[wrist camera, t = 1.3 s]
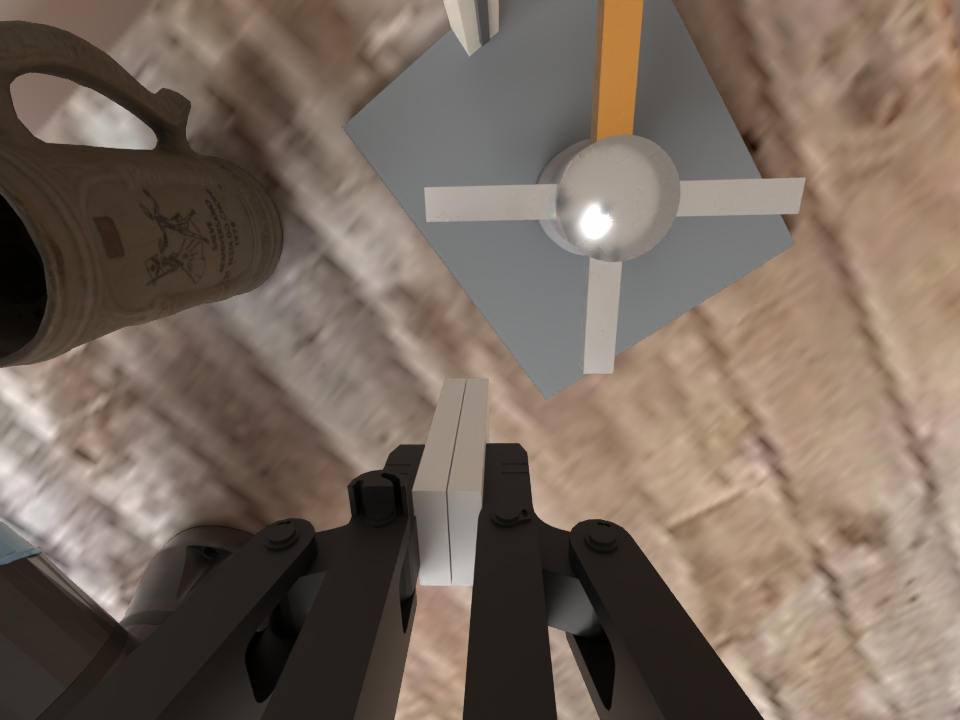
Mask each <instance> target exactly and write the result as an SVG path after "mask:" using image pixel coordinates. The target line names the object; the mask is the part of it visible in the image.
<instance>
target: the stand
mask: <svg viewBox="0 0 960 720" xmlns="http://www.w3.org/2000/svg"><path fill="white" fill-rule="evenodd" d="M443 1H444V5H445V8H446V12H447V15H448V18H449V22H450V25H451V29H450V30H449V31H448V32H447V33H446V34H445V35H443V36H442V37H441V38H440V39H439V40H438V41H437V42H436V43H435V44H433V45H432V46H431V47H430V48H429V49H428V50H427V51H426V52H425V53H424V54H422V55H421V56H420V57H419V58H418V59H417V60H416V61H415V62H414V63H412V64H411V65H410V66H409V67H408V68H407V69H406V70H405V71H404V72H402V73H401V74H400V75H399V76H398V77H397V78H396V79H395V80H394V81H393V82H391V83H390V84H389V85H388V86H387V87H386V88H385V89H384V90H383V91H381V92H380V93H379V94H378V95H377V96H376V97H375V98H374V99H373V100H371V101H370V102H369V103H368V104H367V105H366V106H365V107H364V108H363V109H362V110H360V111H359V112H358V113H357V114H356V115H355V116H354V117H353V118H352V119H350V120H349V121H348V122H347V123H346V124H345V125H344V126H343V127H342V128H343V129H344V131H345V132H346V133H347V135H348V136H349V137H350V139H351V140H352V141H353V143H354V144H355V145H356V147H357V148H358V149H359V151H360V152H361V153H362V155H363V156H364V157H365V159H366V160H367V161H368V163H369V164H370V165H371V167H372V168H373V169H374V171H375V172H376V173H377V175H378V176H379V177H380V179H381V180H382V181H383V183H384V184H385V185H386V187H387V188H388V189H389V191H390V192H391V193H392V195H393V196H394V197H395V199H396V200H397V201H398V203H399V204H400V205H401V207H402V208H403V209H404V211H405V212H406V213H407V215H408V216H409V217H410V219H411V220H412V221H413V223H414V224H415V225H416V227H417V228H418V229H419V231H420V232H421V233H422V235H423V236H424V238H425V239H426V240H427V242H428V243H429V244H430V246H431V247H432V248H433V250H434V251H435V252H436V254H437V255H438V256H439V258H440V259H441V260H442V262H443V263H444V264H445V266H446V267H447V268H448V270H449V271H450V272H451V274H452V275H453V276H454V278H455V279H456V280H457V282H458V283H459V284H460V286H461V287H462V288H463V290H464V291H465V292H466V294H467V295H468V296H469V298H470V299H471V300H472V302H473V303H474V304H475V306H476V307H477V308H478V310H479V311H480V312H481V314H482V315H483V316H484V318H485V319H486V320H487V322H488V323H489V324H490V326H491V327H492V328H493V330H494V331H495V332H496V334H497V335H498V336H499V338H500V339H501V340H502V342H503V343H504V344H505V346H506V347H507V349H508V350H509V351H510V353H511V354H512V355H513V357H514V358H515V359H516V361H517V362H518V363H519V365H520V366H521V367H522V369H523V370H524V371H525V373H526V374H527V375H528V377H529V378H530V379H531V381H532V382H533V383H534V385H535V386H536V387H537V389H538V390H539V391H540V393H541V394H542V395H543V397H544V398H545V399H546V400H547V399H548V398H550V397H552V396H553V395H555V394H556V393H558V392H560V391H561V390H563V389H564V388H566V387H568V386H569V385H571V384H572V383H574V382H575V381H577V380H579V379H580V378H582V377H583V376H585V375H587V374H583V372H582V370H581V368H580V365H579V346H580V328H581V309H582V290H583V271H584V253H582V252H581V251H579V250H578V249H577V248H575V247H574V246H572V245H571V244H570V243H568V242H567V241H565V240H564V239H563V238H562V237H561V236H560V235H559V234H558V233H557V232H556V230H555V229H554V227H553V226H552V223H551V221H550V219H543V220H497V221H452V222H426V208H425V192H424V187H458V186H497V185H536V184H550V182H551V180H552V178H553V175H554V174H555V172H556V171H557V169H558V168H559V167H560V165H561V164H562V163H563V162H564V161H565V160H566V159H567V158H569V157H570V156H571V155H573V154H575V153H576V152H578V151H580V150H582V149H584V148H586V147H588V146H590V140H591V121H592V102H593V84H594V65H595V46H596V27H597V9H598V0H443ZM633 135H636V136H641V137H643V138H646V139H649V140H651V141H652V142H654V143H656V144H657V145H659V146H660V147H661V148H662V149H663V150H664V151H665V152H666V153H667V154H668V155H669V157H670V158H671V159H672V161H673V163H674V165H675V167H676V170H677V173H678V176H679V181H693V180H732V179H762V177H761V175H760V173H759V171H758V169H757V167H756V165H755V163H754V161H753V159H752V157H751V155H750V153H749V151H748V149H747V147H746V145H745V143H744V141H743V139H742V137H741V135H740V133H739V131H738V129H737V127H736V125H735V123H734V121H733V119H732V117H731V115H730V113H729V111H728V109H727V107H726V105H725V103H724V101H723V99H722V98H721V96H720V94H719V92H718V90H717V88H716V86H715V84H714V82H713V80H712V78H711V76H710V74H709V72H708V70H707V68H706V66H705V64H704V62H703V60H702V58H701V56H700V54H699V52H698V50H697V48H696V46H695V44H694V42H693V40H692V38H691V36H690V34H689V32H688V30H687V28H686V26H685V24H684V22H683V20H682V18H681V16H680V14H679V12H678V10H677V8H676V6H675V4H674V2H673V0H643V12H642V24H641V36H640V48H639V61H638V73H637V85H636V98H635V110H634V122H633ZM794 244H795V242H794V240H793V238H792V236H791V234H790V232H789V230H788V228H787V226H786V224H785V222H784V220H783V218H782V216H781V215H780V214H769V215H724V216H679V217H676V218H675V220H674V222H673V224H672V226H671V228H670V229H669V231H668V232H667V234H666V235H665V236H664V238H663V239H662V240H661V241H660V242H659V243H658V244H657V245H656V246H654V247H653V248H652V249H651V250H649V251H648V252H646V253H644V254H643V255H640V256H638V257H636V258H633V259H630V260H626V261H622V270H621V282H620V295H619V307H618V319H617V332H616V344H615V356H617V355H619V354H620V353H622V352H623V351H625V350H627V349H628V348H630V347H631V346H633V345H635V344H636V343H638V342H639V341H641V340H642V339H644V338H646V337H647V336H649V335H650V334H652V333H654V332H655V331H657V330H658V329H660V328H662V327H663V326H665V325H666V324H668V323H670V322H671V321H673V320H674V319H676V318H678V317H679V316H681V315H682V314H684V313H686V312H687V311H689V310H690V309H692V308H694V307H695V306H697V305H698V304H700V303H702V302H703V301H705V300H706V299H708V298H709V297H711V296H713V295H714V294H716V293H717V292H719V291H721V290H722V289H724V288H725V287H727V286H729V285H730V284H732V283H733V282H735V281H737V280H738V279H740V278H741V277H743V276H745V275H746V274H748V273H749V272H751V271H753V270H754V269H756V268H757V267H759V266H761V265H762V264H764V263H765V262H767V261H769V260H770V259H772V258H773V257H775V256H776V255H778V254H780V253H781V252H783V251H784V250H786V249H788V248H789V247H791V246H792V245H794ZM615 356H614V357H615Z"/></svg>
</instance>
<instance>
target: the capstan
mask: <svg viewBox="0 0 960 720" xmlns="http://www.w3.org/2000/svg"><path fill="white" fill-rule="evenodd" d="M642 12H643V0H598V9H597V27H596V46H595V65H594V84H593V102H592V121H591V140H590V146H588V147H586V148H584V149H582V150H580V151H578V152H576V153H575V154H573V155H571V156H570V157H569V158H567V159H566V160H565V161H564V162H563V163H562V164H561V165H560V167H559V168H558V169H557V171H556V172H555V174H554V175H553V178H552V180H551V182H550V184H536V185H497V186H458V187H424V192H425V208H426V222H452V221H497V220H543V219H550V221H551V223H552V226H553V227H554V229H555V230H556V232H557V233H558V234H559V235H560V236H561V237H562V238H563V239H564V240H565V241H567V242H568V243H570V244H571V245H572V246H574V247H575V248H577V249H578V250H579V251H581V252H582V253H584V271H583V290H582V309H581V328H580V346H579V365H580V368H581V370H582V372H583V374H606V373H613V368H614V356H615V344H616V332H617V319H618V307H619V295H620V282H621V270H622V261H626V260H630V259H633V258H636V257H638V256H640V255H643V254H644V253H646V252H648V251H649V250H651V249H652V248H653V247H654V246H656V245H657V244H658V243H659V242H660V241H661V240H662V239H663V238H664V236H665V235H666V234H667V232H668V231H669V229H670V228H671V226H672V224H673V222H674V220H675V218H676V217H679V216H724V215H769V214H798V213H799V208H800V203H801V199H802V194H803V189H804V184H805V179H806V178H772V179H732V180H693V181H679V176H678V173H677V170H676V167H675V165H674V163H673V161H672V159H671V158H670V157H669V155H668V154H667V153H666V152H665V151H664V150H663V149H662V148H661V147H660V146H659V145H657V144H656V143H654V142H652V141H651V140H649V139H646V138H643V137H641V136H636V135H633V122H634V110H635V98H636V85H637V73H638V61H639V48H640V36H641V24H642Z"/></svg>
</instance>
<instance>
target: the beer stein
mask: <svg viewBox="0 0 960 720" xmlns="http://www.w3.org/2000/svg"><path fill="white" fill-rule="evenodd" d="M29 72H31V73H43V74H48V75H53V76H57V77H61V78H65V79H69V80H71V81H74V82H75V83H77V84H79V85H82V86H85V87H88V88H91V89H93V90H95V91H97V92H99V93H100V94H102V95H104V96H106V97H107V98H109V99H111V100H112V101H114V102H116V103H117V104H119V105H120V106H122V107H123V108H125V109H127V110H128V111H130V112H131V113H132V114H134V115H135V116H137V117H138V118H139V119H140V120H142V121H143V122H144V123H145V124H147V125H148V126H149V127H150V128H151V129H152V130H153V131H154V133H155V134H156V137H157V140H158V141H157V144H156V148H155V149H153V150H132V149H116V148H105V147H94V146H86V145H70V144H55V143H45V142H44V141H42V140H40V139H38V138H36V137H34V136H33V135H32V133H31V132H30V131H29V130H28V129H27V128H26V127H25V126H24V124H22V122H21V121H20V120H19V119H18V117H17V115H16V112H15V109H14V106H13V102H12V98H11V94H10V84H11V83H12V82H13V81H14V79H15V78H16V77H18V76H20V75H22V74H25V73H29ZM190 109H191V103H190V101H189V100H187V99H186V98H185V97H183V96H182V95H180V94H179V93H177V92H175V91H172V90H170V89H166V88H162V89H161V90H159V91H158V92H157V93H155V94H153V93H151V92H150V91H148V90H147V89H146V88H145V87H143V86H142V85H141V84H140V83H139V82H138V81H137V80H135V79H134V78H133V77H132V76H131V75H130V74H129V73H128V72H127V71H126V70H125V69H124V68H123V67H121V66H120V65H119V64H118V63H117V62H116V61H115V60H114V59H112V58H111V57H110V56H109V55H108V54H106V53H105V52H103V51H101V50H100V49H98V48H97V47H95V46H93V45H92V44H90V43H89V42H87V41H86V40H84V39H82V38H80V37H78V36H76V35H74V34H72V33H70V32H68V31H65V30H62V29H59V28H56V27H52V26H49V25H44V24H37V23H31V22H25V21H0V368H3V367H10V366H17V365H30V364H34V363H38V362H43V361H47V360H50V359H52V358H55V357H57V356H59V355H61V354H64V353H66V352H68V351H70V350H71V349H72V348H75V347H77V346H80V345H82V344H84V343H87V342H89V341H92V340H94V339H96V338H99V337H101V336H104V335H106V334H109V333H111V332H113V331H116V330H118V329H121V328H123V327H126V326H133V325H140V324H145V323H147V322H150V321H153V320H156V319H159V318H163V317H166V316H170V315H173V314H176V313H178V312H180V311H182V310H185V309H188V308H191V307H194V306H197V305H201V304H204V303H212V302H217V301H222V300H225V299H228V298H230V297H232V296H236V295H240V294H243V293H247V292H250V291H252V290H254V289H256V288H257V287H259V286H260V285H261V284H262V283H263V282H264V281H265V280H266V279H267V278H268V277H269V276H270V275H271V274H272V273H273V271H274V269H275V267H276V265H277V263H278V261H279V257H280V253H281V245H282V230H281V226H280V221H279V217H278V213H277V211H276V208H275V206H274V204H273V202H272V200H271V199H270V197H269V196H268V194H267V193H266V191H265V190H264V188H263V187H262V186H261V184H260V183H259V182H258V181H257V180H255V179H254V178H253V177H252V176H251V175H250V174H249V173H247V172H246V171H244V170H243V169H241V168H239V167H238V166H236V165H234V164H233V163H230V162H227V161H224V160H222V159H218V158H213V157H209V156H199V155H197V154H196V153H195V152H194V151H193V150H192V149H191V148H190V146H189V144H188V141H187V139H186V125H187V120H188V116H189V112H190Z"/></svg>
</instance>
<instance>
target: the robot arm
mask: <svg viewBox="0 0 960 720" xmlns="http://www.w3.org/2000/svg"><path fill="white" fill-rule="evenodd" d="M348 493H349V500H350V507H351V514H352V517H351V520H350V522H349V524H347V525H344V526H342V527H338V528H335V529H330V530H326V531H321V532H317V533H315V530H314V527H313V526H312V524H311V523H310V522H309V521H306V520H303V519H294V518H290V519H285V520H281V521H277V522H275V523H273V524H271V525H268V526H266V527H265V528H264V529H262V530H261V531H260V532H258V533H257V534H256V535H255V536H252V535H250V534H248V533H245V532H242V531H239V530H236V529H232V528H227V527H219V526H204V527H197V528H193V529H189V530H186V531H184V532H181V533H180V534H178V535H176V536H175V537H173V538H172V539H171V540H170V541H169V542H168V543H167V544H166V545H165V546H164V547H163V548H162V549H161V550H160V551H159V552H158V553H157V554H156V555H155V556H154V558H153V559H152V560H151V562H150V563H149V565H148V567H147V568H146V571H145V573H144V575H143V577H142V579H141V581H140V584H139V586H138V588H137V590H136V592H135V594H134V597H133V599H132V601H131V603H130V605H129V608H128V610H127V612H126V614H125V616H124V618H123V619H122V621H121V622H120V623H118V622H116V620H115V619H114V618H113V617H112V616H110V615H109V614H108V613H107V612H106V611H105V610H104V609H103V608H102V607H100V606H99V605H98V604H97V603H96V602H95V601H94V600H93V599H92V598H90V597H89V596H88V595H87V594H86V593H85V592H84V591H83V590H81V589H80V588H79V587H78V586H77V585H76V584H75V583H74V582H73V581H71V580H70V579H69V578H68V577H67V576H66V575H65V574H64V573H63V572H62V571H61V570H60V569H59V568H58V567H56V566H55V565H54V564H53V563H52V562H51V561H50V560H49V559H48V558H47V557H46V556H45V555H44V554H43V553H44V551H43V549H42V548H40V547H34V546H33V545H32V544H30V543H29V542H28V541H27V540H25V539H24V538H23V537H21V536H20V535H19V534H17V533H16V532H15V531H13V530H12V529H11V528H10V527H9V526H7V525H6V524H5V523H3V522H1V521H0V720H394V718H395V713H396V708H397V703H398V698H399V693H400V688H401V682H402V677H403V672H404V667H405V662H406V657H407V652H408V647H409V642H410V636H411V631H412V626H413V621H414V616H415V611H416V606H417V595H416V582H417V577H418V573H419V577H420V585H442V586H451V583H452V584H453V586H473V591H472V604H471V617H470V630H469V644H468V657H467V670H466V683H465V696H464V710H463V720H557V712H556V702H555V692H554V683H553V673H552V663H551V654H550V644H549V635H548V626H550V627H553V628H557V629H560V630H563V631H565V633H566V638H567V640H568V643H569V645H570V648H571V650H572V653H573V655H574V657H575V660H576V662H577V665H578V667H579V670H580V672H581V674H582V677H583V679H584V682H585V684H586V687H587V689H588V691H589V694H590V696H591V699H592V701H593V704H594V706H595V708H596V711H597V713H598V716H599V718H600V720H764V719H763V717H762V716H761V715H760V713H759V712H758V710H757V709H756V708H755V706H754V705H753V704H752V702H751V701H750V699H749V698H748V697H747V695H746V694H745V692H744V691H743V690H742V688H741V687H740V686H739V684H738V683H737V681H736V680H735V679H734V677H733V676H732V675H731V673H730V672H729V670H728V669H727V668H726V666H725V665H724V664H723V662H722V661H721V659H720V658H719V657H718V655H717V654H716V652H715V651H714V650H713V648H712V647H711V646H710V644H709V643H708V641H707V640H706V639H705V637H704V636H703V635H702V633H701V632H700V630H699V629H698V628H697V626H696V625H695V623H694V622H693V621H692V619H691V618H690V617H689V615H688V614H687V612H686V611H685V610H684V608H683V607H682V606H681V604H680V603H679V601H678V600H677V599H676V597H675V596H674V594H673V593H672V592H671V590H670V589H669V588H668V586H667V585H666V583H665V582H664V581H663V579H662V578H661V577H660V575H659V574H658V572H657V571H656V570H655V568H654V567H653V566H652V564H651V563H650V561H649V560H648V559H647V557H646V556H645V554H644V553H643V552H642V550H641V549H640V548H639V546H638V545H637V543H636V542H635V541H634V539H633V538H632V537H631V535H630V534H629V533H628V532H627V531H626V530H625V529H624V528H622V527H621V526H619V525H617V524H615V523H613V522H609V521H605V520H601V519H590V520H586V521H583V522H579V523H578V524H577V525H576V526H574V527H573V528H572V530H571V532H569V531H565V530H561V529H558V528H555V527H552V526H550V525H548V524H546V523H544V522H543V521H542V520H541V519H539V518H538V516H537V515H536V514H535V512H534V509H533V504H532V494H531V485H530V475H529V465H528V456H527V452H526V451H525V450H524V448H523V447H522V446H521V445H520V444H519V443H490V442H489V387H488V379H467V382H466V379H445V381H444V384H443V387H442V391H441V394H440V398H439V401H438V404H437V408H436V411H435V415H434V418H433V421H432V425H431V428H430V431H429V435H428V438H427V442H426V445H399V446H398V447H397V448H396V449H395V450H393V451H392V452H391V453H390V454H389V457H388V459H387V461H386V464H385V466H384V468H383V470H375V471H370V472H367V473H364V474H361V475H360V476H358V477H357V478H355V479H353V480H352V482H351V483H350V484H349V485H348Z"/></svg>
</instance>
